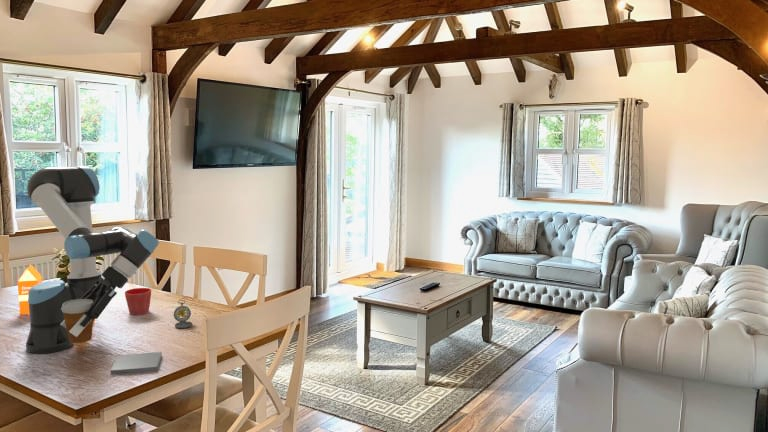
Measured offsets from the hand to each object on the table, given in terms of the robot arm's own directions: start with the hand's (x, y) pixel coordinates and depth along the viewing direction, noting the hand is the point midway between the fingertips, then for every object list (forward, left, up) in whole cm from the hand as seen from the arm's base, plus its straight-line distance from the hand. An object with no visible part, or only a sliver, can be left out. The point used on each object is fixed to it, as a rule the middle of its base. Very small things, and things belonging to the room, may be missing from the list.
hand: (68, 330), depth 187 cm
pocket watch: (+30, +50, -17) cm, 61 cm away
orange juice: (-35, +85, -17) cm, 94 cm away
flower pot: (+10, +73, -17) cm, 76 cm away
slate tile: (+18, +9, -16) cm, 26 cm away
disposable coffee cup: (+3, +2, -4) cm, 5 cm away
